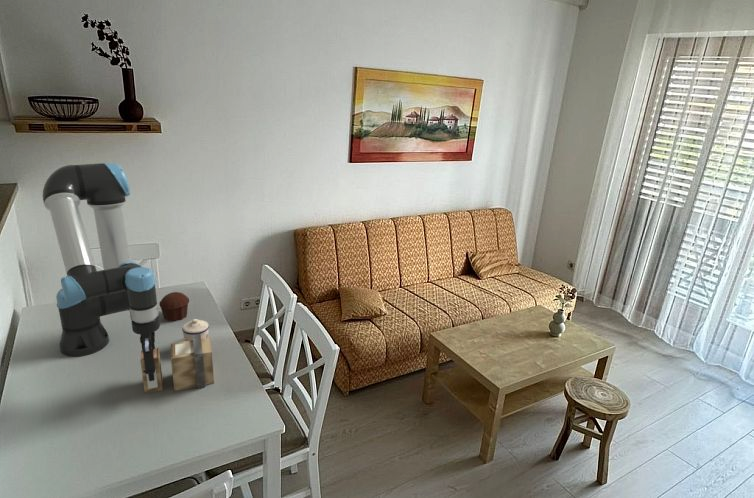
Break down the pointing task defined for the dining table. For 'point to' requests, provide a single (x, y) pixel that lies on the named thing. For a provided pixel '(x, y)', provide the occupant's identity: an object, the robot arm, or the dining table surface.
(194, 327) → the teacup with lid
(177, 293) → the muffin
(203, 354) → the tan wooden crate
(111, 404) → the dining table surface
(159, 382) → the pink-ended wooden block
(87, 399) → the dining table surface
